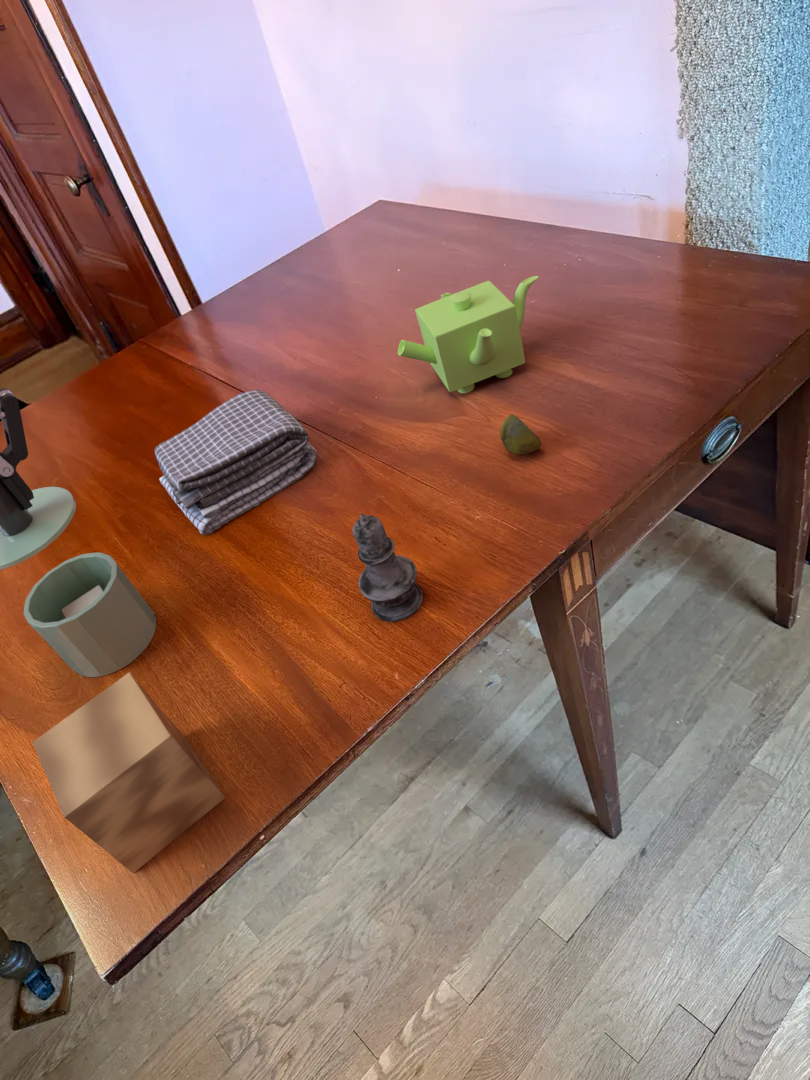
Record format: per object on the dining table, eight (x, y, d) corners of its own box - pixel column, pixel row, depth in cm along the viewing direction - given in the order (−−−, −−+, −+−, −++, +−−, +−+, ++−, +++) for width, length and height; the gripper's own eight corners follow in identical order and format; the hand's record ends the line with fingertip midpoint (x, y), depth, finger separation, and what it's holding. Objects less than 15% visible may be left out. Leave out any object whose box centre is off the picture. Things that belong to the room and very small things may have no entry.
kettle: (549, 343, 101) (537, 265, 94) (512, 406, 93) (496, 326, 86) (450, 341, 109) (432, 269, 101) (408, 399, 101) (385, 325, 93)
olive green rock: (509, 438, 89) (502, 404, 85) (549, 440, 86) (543, 404, 83) (498, 463, 86) (490, 428, 83) (539, 465, 84) (532, 429, 80)
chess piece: (436, 587, 74) (405, 498, 67) (406, 630, 71) (370, 543, 63) (388, 573, 78) (353, 487, 70) (357, 615, 75) (317, 529, 67)
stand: (133, 873, 61) (64, 817, 54) (97, 800, 67) (31, 742, 60) (225, 797, 63) (170, 735, 57) (183, 734, 70) (129, 671, 63)
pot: (87, 694, 77) (38, 643, 71) (59, 644, 83) (13, 594, 78) (170, 634, 80) (130, 581, 74) (136, 590, 87) (98, 539, 81)
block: (98, 660, 79) (72, 631, 76) (86, 638, 82) (60, 609, 79) (136, 634, 80) (112, 605, 77) (122, 614, 83) (98, 584, 80)
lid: (-17, 595, 65) (-73, 538, 61) (-42, 542, 73) (-93, 487, 68) (94, 524, 69) (50, 464, 64) (60, 480, 76) (18, 424, 71)
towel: (327, 466, 94) (305, 416, 89) (198, 542, 90) (168, 494, 85) (280, 421, 105) (258, 374, 100) (163, 487, 101) (134, 441, 96)
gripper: (-217, 416, 53) (-55, 578, 64) (-31, 320, 57) (90, 488, 69) (-221, 386, 58) (-70, 542, 69) (-50, 301, 62) (66, 460, 74)
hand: (9, 514), depth 69 cm, fingers closed on lid, 3 cm apart
